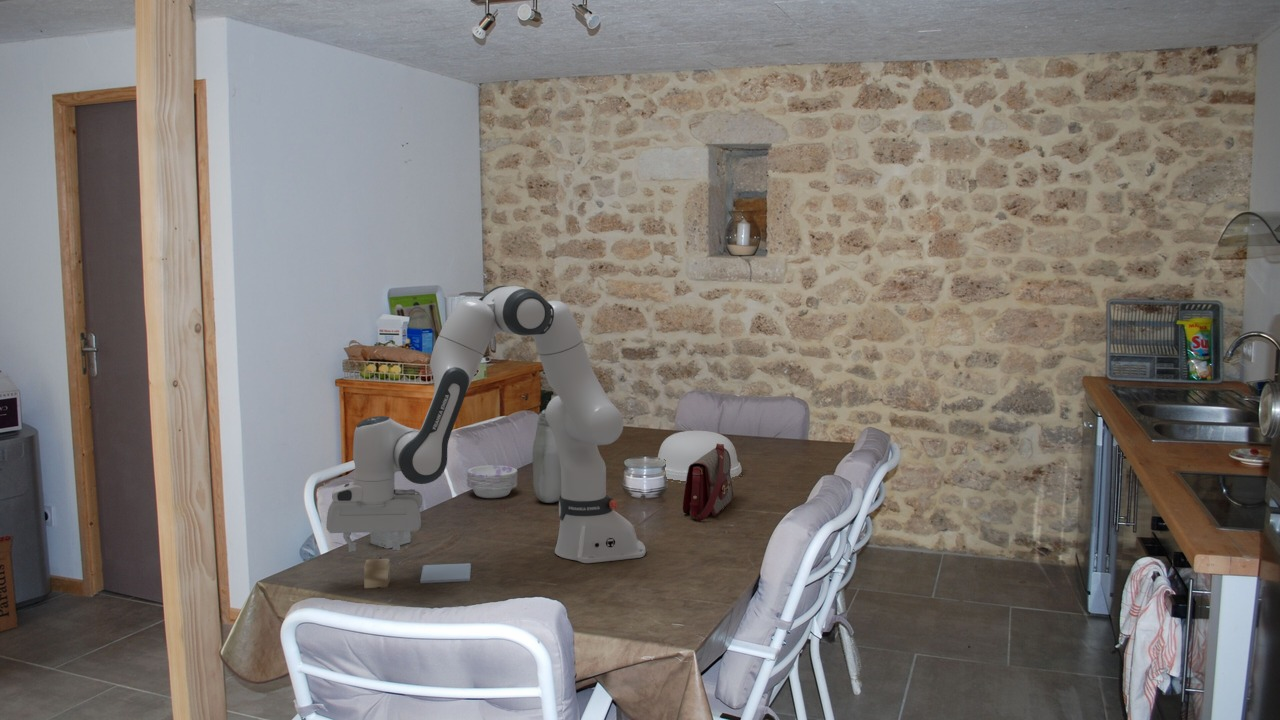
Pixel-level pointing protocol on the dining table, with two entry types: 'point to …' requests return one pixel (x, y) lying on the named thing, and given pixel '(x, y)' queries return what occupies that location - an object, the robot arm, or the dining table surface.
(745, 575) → the dining table surface
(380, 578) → the beech cube
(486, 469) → the paper bowls
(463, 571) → the coaster
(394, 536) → the supplement box
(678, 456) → the dome cover
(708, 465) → the handbag
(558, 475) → the glass bottle
